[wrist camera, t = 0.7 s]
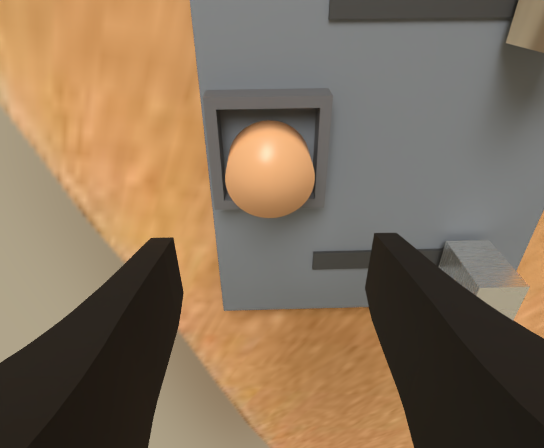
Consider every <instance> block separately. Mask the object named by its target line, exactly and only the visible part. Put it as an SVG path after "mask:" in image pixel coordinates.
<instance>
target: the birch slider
mask: <svg viewBox="0 0 544 448" xmlns="http://www.w3.org/2000/svg"><path fill="white" fill-rule="evenodd" d="M506 43H508V44H511V45H515V46H519V47H523V48H527V49H531V50H534V51H538V52H542V53H544V0H519V1H518V4H517V7H516V10H515V14H514V17H513V20H512V24H511V27H510V30H509V34H508V37H507V40H506Z"/></svg>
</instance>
